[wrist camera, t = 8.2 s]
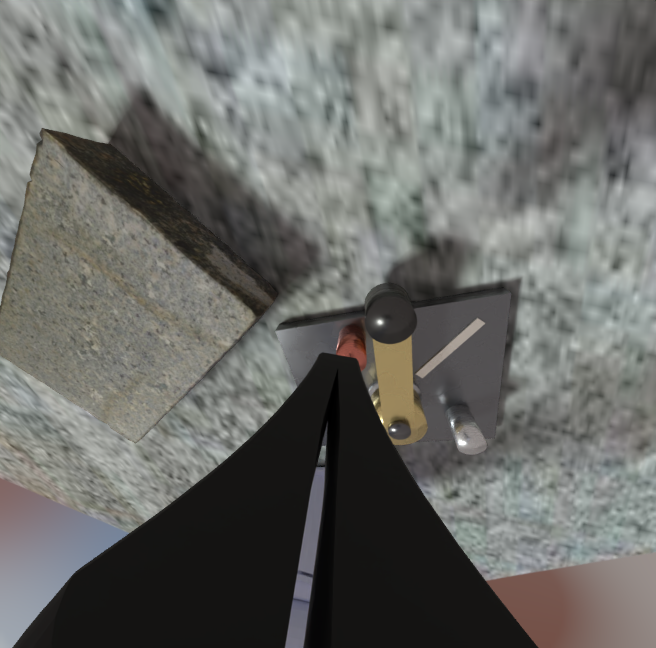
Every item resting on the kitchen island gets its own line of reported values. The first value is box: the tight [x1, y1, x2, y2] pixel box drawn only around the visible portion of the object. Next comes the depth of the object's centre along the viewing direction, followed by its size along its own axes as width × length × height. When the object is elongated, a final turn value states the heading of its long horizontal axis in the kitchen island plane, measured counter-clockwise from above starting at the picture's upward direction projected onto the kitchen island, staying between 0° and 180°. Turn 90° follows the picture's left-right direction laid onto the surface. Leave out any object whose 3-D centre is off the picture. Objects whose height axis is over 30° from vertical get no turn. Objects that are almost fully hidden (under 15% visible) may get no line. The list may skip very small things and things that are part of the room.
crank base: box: [275, 287, 511, 455], centre depth 19 cm, size 16×14×4 cm
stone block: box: [0, 128, 278, 443], centre depth 18 cm, size 14×20×5 cm
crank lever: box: [365, 283, 428, 445], centre depth 17 cm, size 12×4×3 cm, turn 11°
